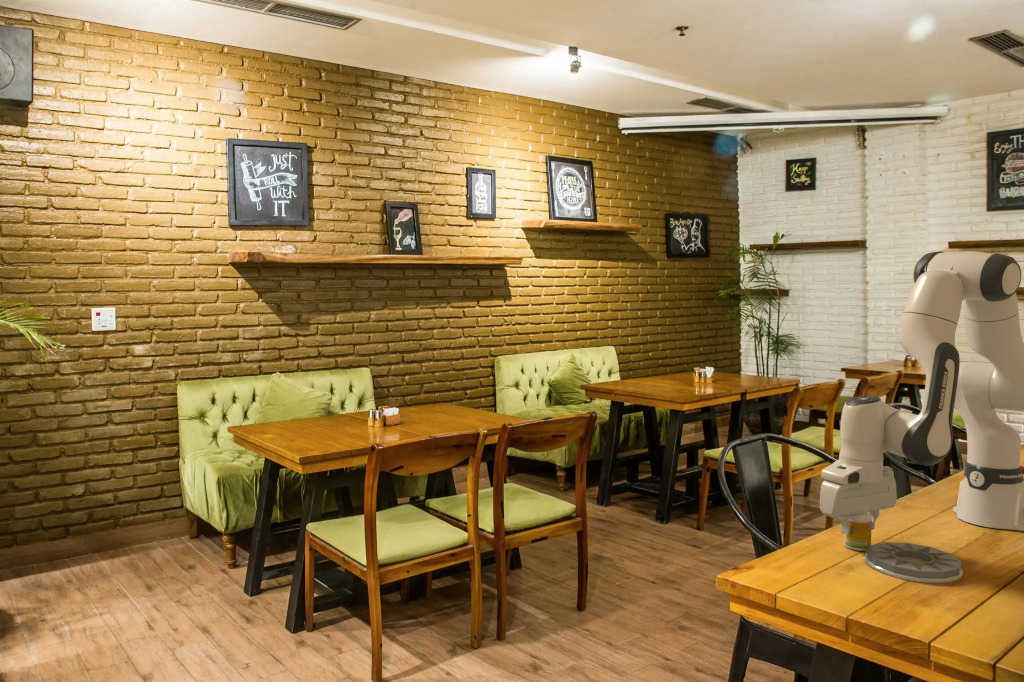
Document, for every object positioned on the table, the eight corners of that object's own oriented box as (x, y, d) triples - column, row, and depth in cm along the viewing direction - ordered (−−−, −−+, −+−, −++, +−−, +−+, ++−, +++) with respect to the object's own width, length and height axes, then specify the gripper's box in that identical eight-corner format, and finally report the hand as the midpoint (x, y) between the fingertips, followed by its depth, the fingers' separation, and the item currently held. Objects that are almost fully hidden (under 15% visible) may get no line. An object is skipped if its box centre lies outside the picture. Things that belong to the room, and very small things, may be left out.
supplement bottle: (873, 552, 169) (875, 508, 169) (847, 550, 171) (848, 507, 170) (867, 544, 175) (869, 501, 174) (841, 542, 176) (843, 500, 175)
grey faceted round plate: (904, 546, 173) (904, 537, 173) (982, 574, 157) (983, 563, 157) (846, 558, 166) (846, 548, 165) (922, 589, 149) (923, 578, 149)
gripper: (881, 462, 179) (878, 521, 180) (815, 471, 170) (813, 533, 171) (905, 468, 173) (902, 529, 174) (839, 478, 164) (836, 542, 165)
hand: (858, 531), depth 172 cm, fingers closed on supplement bottle, 5 cm apart
